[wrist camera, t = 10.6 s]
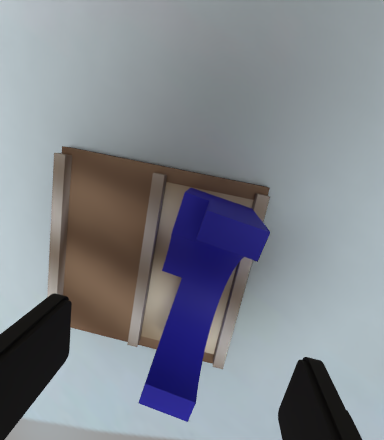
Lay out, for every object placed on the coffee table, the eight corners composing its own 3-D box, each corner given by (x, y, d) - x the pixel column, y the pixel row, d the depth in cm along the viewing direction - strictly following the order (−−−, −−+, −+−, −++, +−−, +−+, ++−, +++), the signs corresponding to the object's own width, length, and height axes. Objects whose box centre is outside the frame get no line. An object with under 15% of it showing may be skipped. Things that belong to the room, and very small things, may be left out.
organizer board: (70, 147, 18) (54, 145, 16) (266, 187, 17) (272, 189, 15) (59, 315, 21) (46, 328, 20) (221, 356, 20) (221, 374, 19)
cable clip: (190, 187, 16) (175, 199, 11) (252, 208, 16) (270, 232, 10) (145, 325, 19) (114, 394, 14) (197, 344, 19) (187, 421, 13)
